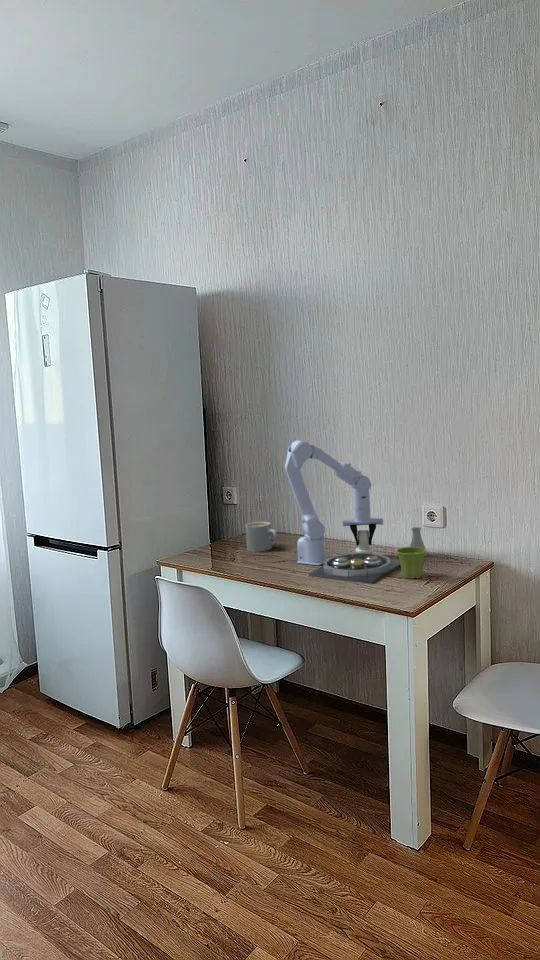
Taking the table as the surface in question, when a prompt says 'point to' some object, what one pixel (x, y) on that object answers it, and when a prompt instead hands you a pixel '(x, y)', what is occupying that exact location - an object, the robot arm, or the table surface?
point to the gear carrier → (356, 567)
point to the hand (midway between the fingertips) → (363, 544)
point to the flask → (417, 539)
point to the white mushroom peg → (363, 542)
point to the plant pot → (411, 561)
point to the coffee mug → (259, 536)
